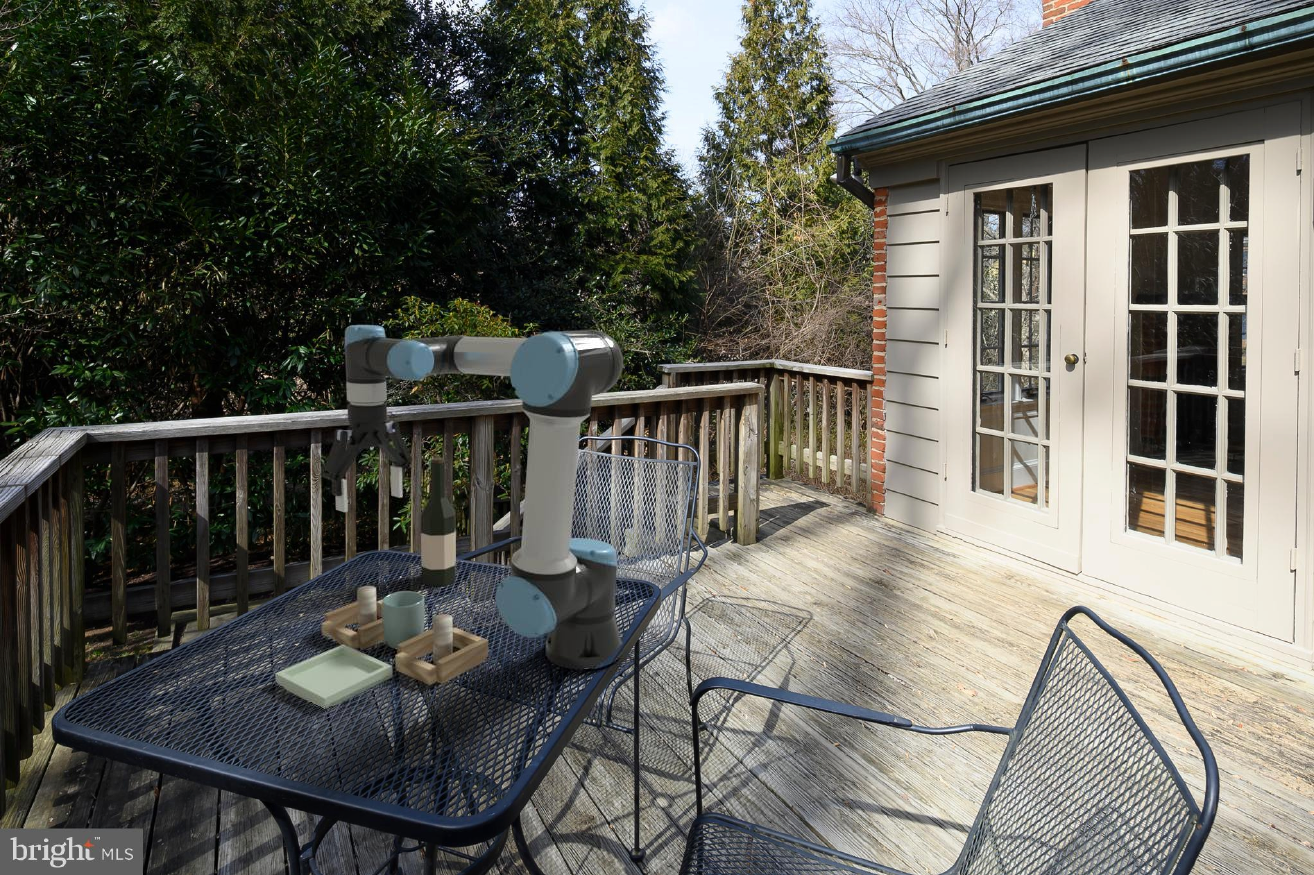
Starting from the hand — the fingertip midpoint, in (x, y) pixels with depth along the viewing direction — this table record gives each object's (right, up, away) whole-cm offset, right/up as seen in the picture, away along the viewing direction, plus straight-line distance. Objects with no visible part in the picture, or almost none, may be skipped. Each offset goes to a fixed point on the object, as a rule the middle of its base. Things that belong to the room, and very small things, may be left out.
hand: (370, 503), depth 165 cm
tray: (+1, -30, -21) cm, 37 cm away
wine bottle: (+7, -21, +26) cm, 34 cm away
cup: (+9, -28, -7) cm, 30 cm away
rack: (+9, -28, -7) cm, 30 cm away
